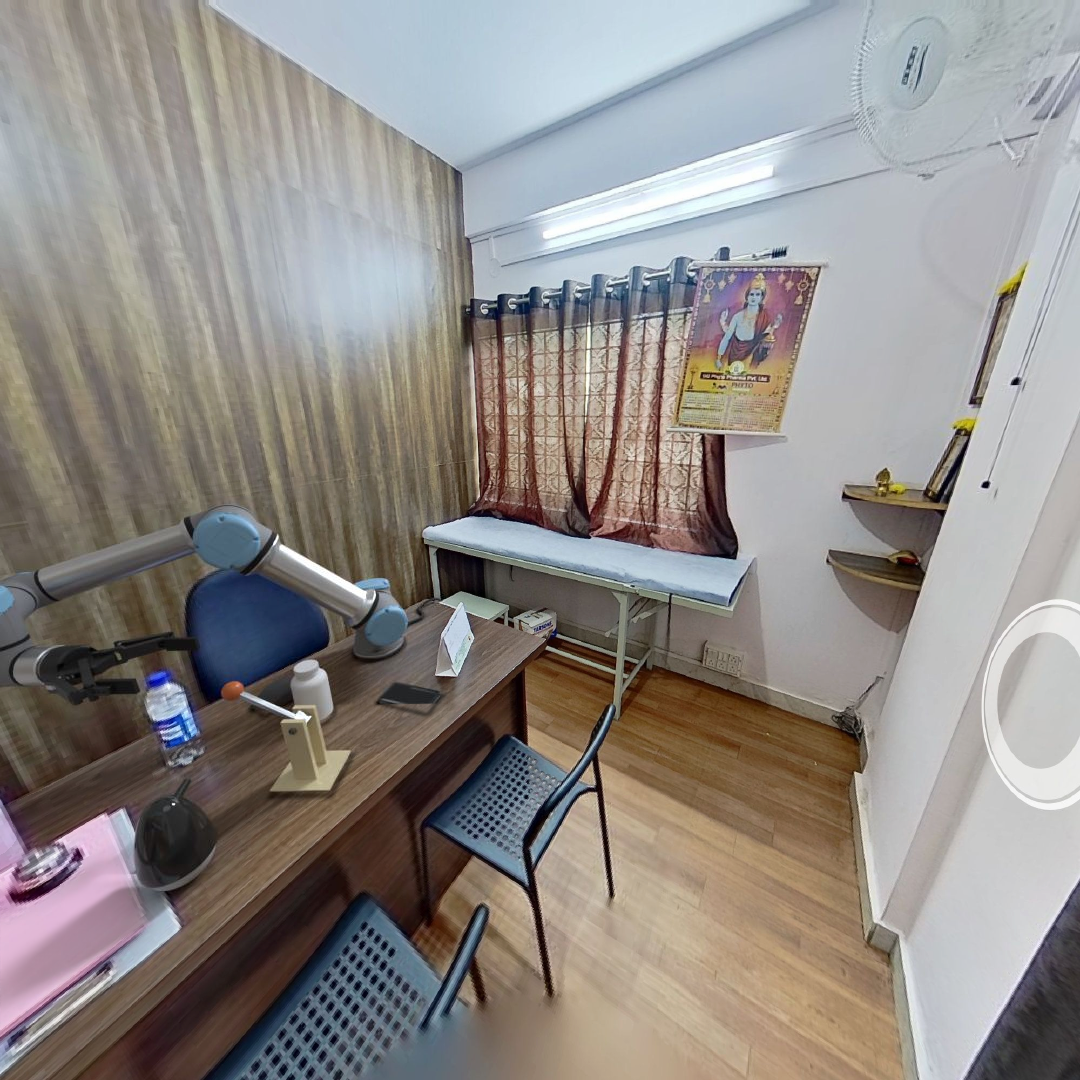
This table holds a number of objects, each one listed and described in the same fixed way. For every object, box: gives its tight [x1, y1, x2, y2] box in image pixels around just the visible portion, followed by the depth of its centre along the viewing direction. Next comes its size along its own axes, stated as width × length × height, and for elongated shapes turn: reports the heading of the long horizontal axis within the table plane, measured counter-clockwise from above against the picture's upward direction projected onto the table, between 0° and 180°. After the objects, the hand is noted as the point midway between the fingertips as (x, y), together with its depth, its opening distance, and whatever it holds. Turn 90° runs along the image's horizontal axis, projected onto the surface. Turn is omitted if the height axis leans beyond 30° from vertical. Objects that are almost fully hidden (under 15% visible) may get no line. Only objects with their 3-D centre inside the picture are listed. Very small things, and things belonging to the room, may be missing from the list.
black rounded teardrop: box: [133, 778, 219, 892], centre depth 68 cm, size 10×10×15 cm
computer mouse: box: [250, 674, 295, 712], centre depth 111 cm, size 8×14×4 cm, turn 150°
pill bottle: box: [291, 659, 334, 722], centre depth 102 cm, size 8×8×15 cm
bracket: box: [269, 704, 352, 793], centre depth 85 cm, size 12×10×16 cm
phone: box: [378, 681, 442, 705], centre depth 109 cm, size 8×1×15 cm
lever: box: [220, 680, 312, 724], centre depth 82 cm, size 17×4×4 cm, turn 88°
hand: (169, 663), depth 79 cm, fingers open, 13 cm apart
